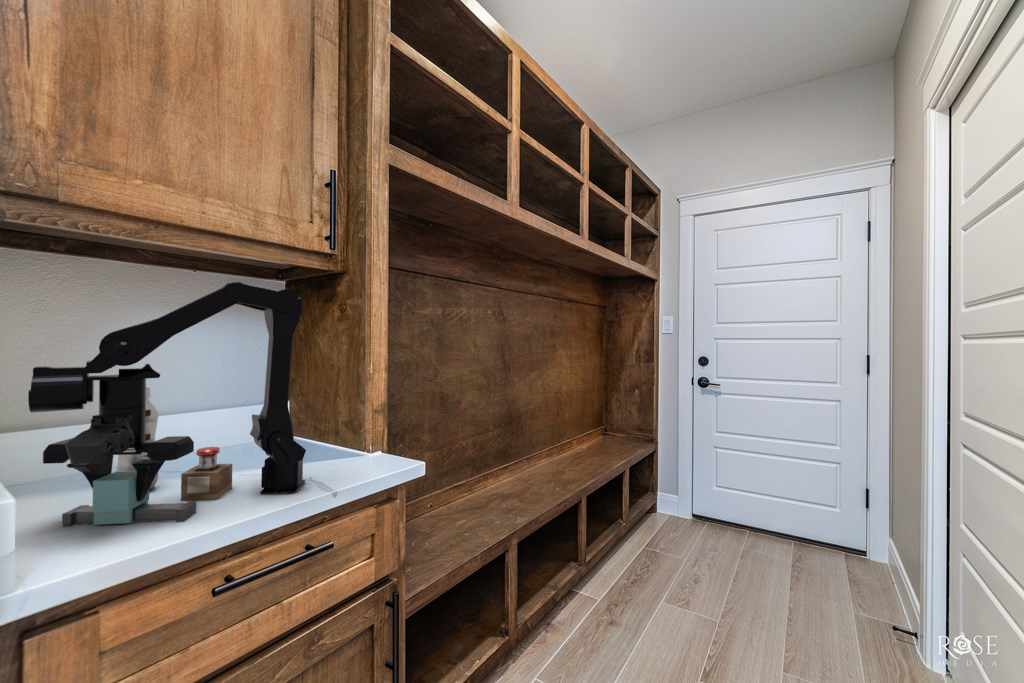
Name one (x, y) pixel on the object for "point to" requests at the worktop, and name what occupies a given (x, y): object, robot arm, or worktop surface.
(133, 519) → the rail
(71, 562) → the worktop surface
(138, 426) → the robot arm
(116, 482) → the carriage
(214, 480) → the brown button housing
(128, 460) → the plastic bottle
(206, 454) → the button
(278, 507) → the worktop surface
